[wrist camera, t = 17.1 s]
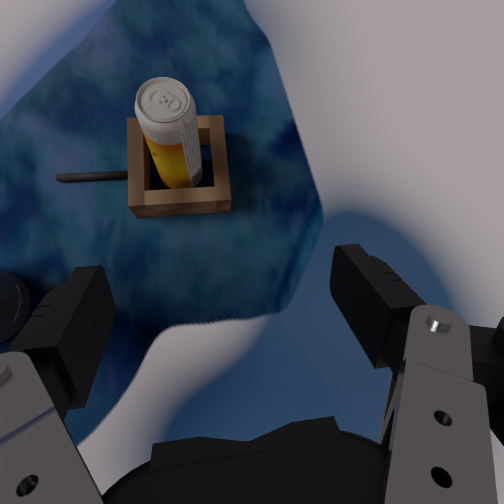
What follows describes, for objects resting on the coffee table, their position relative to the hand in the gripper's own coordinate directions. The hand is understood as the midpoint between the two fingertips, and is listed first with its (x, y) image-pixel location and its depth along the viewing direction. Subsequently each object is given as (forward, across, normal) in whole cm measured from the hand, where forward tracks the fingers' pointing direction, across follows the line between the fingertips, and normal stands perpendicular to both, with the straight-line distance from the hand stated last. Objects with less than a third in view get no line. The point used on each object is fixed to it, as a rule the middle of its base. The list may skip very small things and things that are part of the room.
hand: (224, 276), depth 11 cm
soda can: (+37, +4, +7) cm, 38 cm away
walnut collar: (+37, +9, +6) cm, 39 cm away
